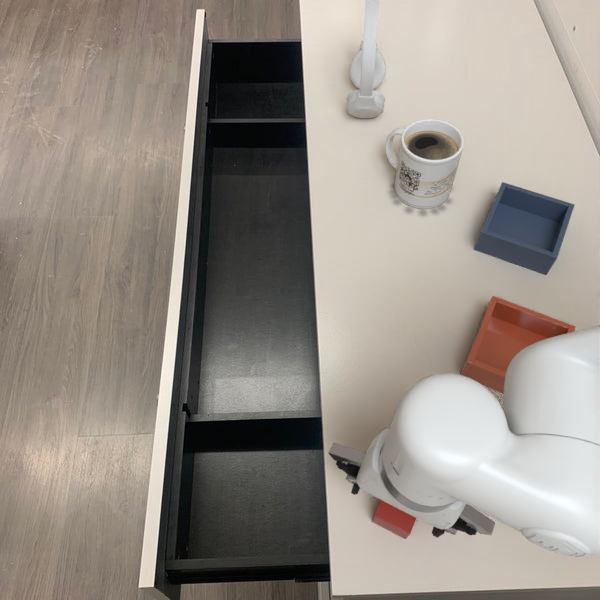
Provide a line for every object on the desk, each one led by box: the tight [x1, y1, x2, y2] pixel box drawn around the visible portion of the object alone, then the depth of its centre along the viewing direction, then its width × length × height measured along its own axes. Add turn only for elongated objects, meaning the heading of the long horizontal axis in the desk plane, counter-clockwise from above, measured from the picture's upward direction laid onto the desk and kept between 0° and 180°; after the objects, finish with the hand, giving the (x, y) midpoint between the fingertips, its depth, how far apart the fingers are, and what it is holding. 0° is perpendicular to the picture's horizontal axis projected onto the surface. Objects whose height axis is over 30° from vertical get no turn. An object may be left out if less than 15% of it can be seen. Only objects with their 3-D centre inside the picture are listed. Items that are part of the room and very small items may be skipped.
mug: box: [384, 118, 465, 210], centre depth 89 cm, size 10×12×11 cm
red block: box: [371, 500, 417, 540], centre depth 64 cm, size 4×4×4 cm
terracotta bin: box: [459, 295, 577, 394], centre depth 74 cm, size 12×12×5 cm
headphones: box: [346, 0, 387, 119], centre depth 97 cm, size 7×18×20 cm, turn 174°
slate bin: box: [473, 181, 575, 276], centre depth 85 cm, size 12×12×5 cm
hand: (398, 501), depth 60 cm, fingers open, 9 cm apart
